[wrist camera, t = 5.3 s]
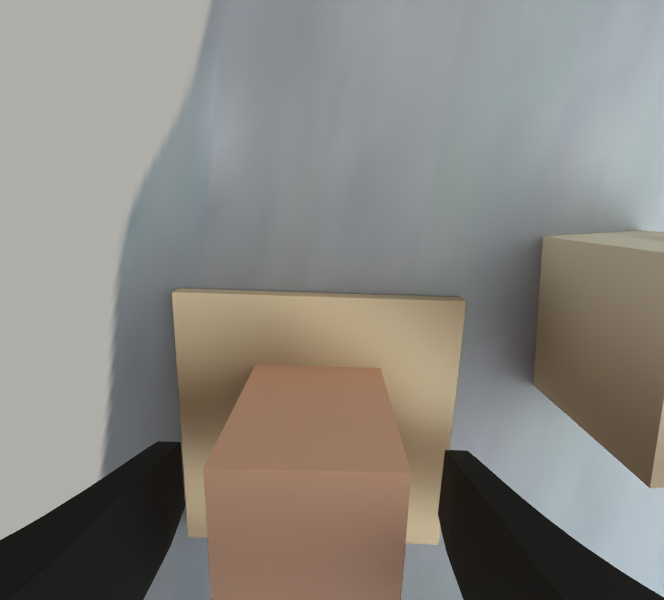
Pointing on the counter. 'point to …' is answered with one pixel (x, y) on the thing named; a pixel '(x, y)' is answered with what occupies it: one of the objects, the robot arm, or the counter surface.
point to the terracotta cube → (308, 489)
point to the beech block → (606, 341)
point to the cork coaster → (320, 351)
